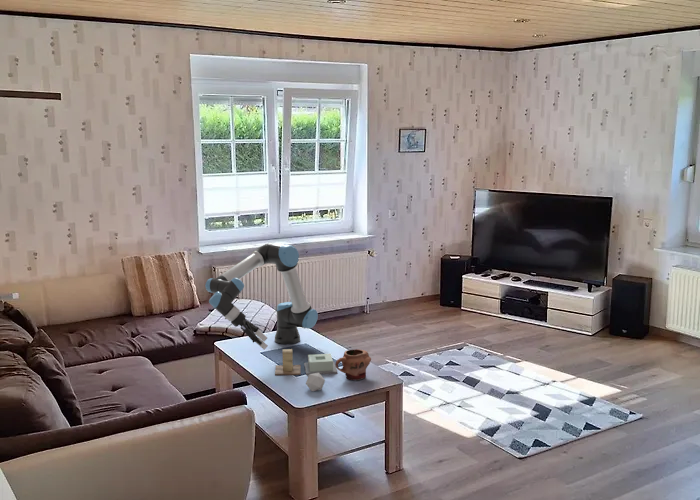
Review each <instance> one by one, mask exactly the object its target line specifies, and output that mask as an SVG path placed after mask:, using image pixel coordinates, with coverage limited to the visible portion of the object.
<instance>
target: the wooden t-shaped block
mask: <svg viewBox="0 0 700 500" xmlns="http://www.w3.org/2000/svg"><path fill="white" fill-rule="evenodd" d="M293 353H294V352H293V348H291V349H290V348H288V349H285V348H284V349H283V348H282V364H281V365H280V364H278V365H277V364H276V365H275V370H274V376H276V377H277V376H299V375H300V376H301V364H294V362H293V359H294V358H293Z"/></svg>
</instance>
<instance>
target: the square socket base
mask: <svg viewBox="0 0 700 500" xmlns="http://www.w3.org/2000/svg"><path fill="white" fill-rule="evenodd" d="M335 364H336V362H335V361H333V357H332V355H331V353H322V354H321V353H320V354H319V353H317V354H315V353H314V354H307V362H304V363H303V365H304V366H303V367H304V370H305V375H306V376H309V374H314V373H320V374H321V375H330V374H331V375H333V374H334V375H335V374H338V369H337V368H336V365H335Z"/></svg>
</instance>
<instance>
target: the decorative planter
mask: <svg viewBox="0 0 700 500" xmlns="http://www.w3.org/2000/svg"><path fill="white" fill-rule="evenodd" d="M371 360H372V358H371V356H370V355H369V352H368V351H366V350H364V349H357V348H356V349H348V350H346V351H344V353H343V356H342V357H340V358H338V359H337V360H336V361H335V366H336V369H337V371H340V372H341V373H343V374H345V378H346V379H347V380H351V381H360V380H363V379H365V378H366V377H367V368H368V366H369V365H370V363H371V362H372V361H371ZM340 363H341V364H342V368H340V367H339V364H340Z"/></svg>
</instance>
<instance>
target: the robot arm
mask: <svg viewBox="0 0 700 500" xmlns="http://www.w3.org/2000/svg"><path fill="white" fill-rule="evenodd" d="M299 258H300V253H299V251H298V249H297V248H296V246H293V245H291V244H286V243H284V244H283V243H275V242H268V243H265V244H263V245H261V246H259V247H257V248H255V249H254V250H253V251H251V253H250V254H249V255H248V256H247V257H246V258H244V259H242V260H240V261H239V262H238V263H237V264H235V265H234V266H232V267H230V268H229V269H228V270H226V271H225V272H223V273H221V274H220V275H219V276H217V277H216V278H214V277H211V278H208V279H207V280H206V282H205V285H204V286H205V290H206V291H207V292H208V293H212V294H213V295H211V297H210V298H209V300H208V303H209V304H210V306H212V307H213V309H215V310H216V311H217V312H218V313H219V314H221V315H222V316H223V317H224V319H225V320H228V322H230V323H231V324H232V325H233V326H234V327H239V326H240V329H241V330H242V331H243V332H244V333H245V334H246V336H247V337H248V338H249V339H250V340H251V341H252V343H253V344H254V343H255V344H256V345H258V346H259V347H260V348H261V349H262V350H264V351H265V350H266V349H267V348H268V346H269V345H268V344H267V343H266V341H267V340H268V337H267V336H266V335H265V334H264V333H263V332H262V331H260V327H259V326H256V325H255V324H253V323H252V322H250V321H249V320H248V319H247V318H246V317H247V316H246V314H244V313H243V312H242V311H241V310H240V309H239V308H238V307H237V306H236V305H234V304H233V301H235V300H236V298H237V297H238V296H239V294H241V293H242V290H244V288H245V284H244V282H243V281H242V280H241V279H242V278H244V277H245V276H246V275H247V274H249V273H251V272H252V271H254V270H255V269H256V268H258V267H262V266H264V265H266V264H272V265H275V268H276V270H277V271H278V272H279V273H280V274H281V276H282V280H283V282H284V285H285V288H286V291H287V294H288V297H289V300H290V301H285V302H281V303H278V304H277V306H276V323H277V326H276V332H275V334H274V335H275V336H274V342H275V343H276V344H277V343H278V344H279V345H280V344H282V345H290V344H291V345H292V344H296V343H299V342H300V341H301V334H300V332H299V330H298V328H303V329H307V330H309V329H312V328H314V327H315V325H316V323H317V321H318V319H319V318H318V317H319V313H318V310H316V309H314V308H312V305H311V303H310V302H309V301H307V299H306V298H307V297H306V295H305V293H304V288H303V285H302V283H301V280H300V277H299V276H300V275H299V273H298V270H297V267H298V263H299V260H300V259H299Z"/></svg>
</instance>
